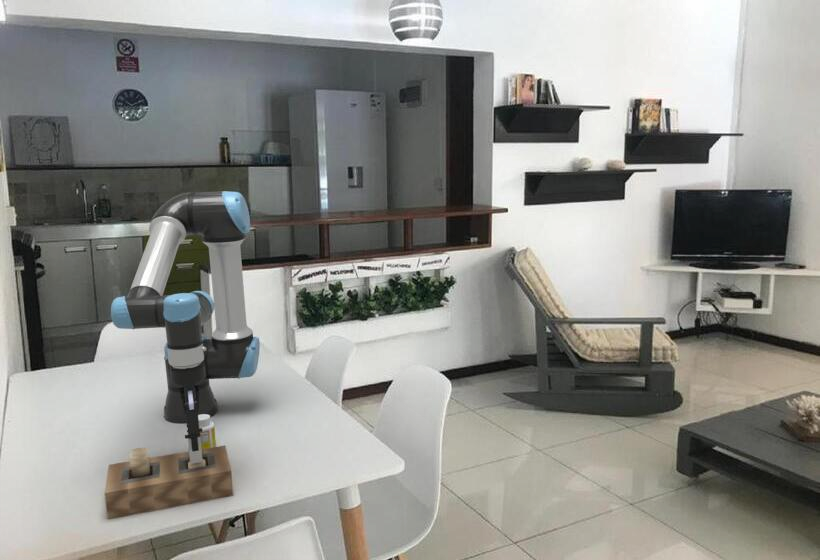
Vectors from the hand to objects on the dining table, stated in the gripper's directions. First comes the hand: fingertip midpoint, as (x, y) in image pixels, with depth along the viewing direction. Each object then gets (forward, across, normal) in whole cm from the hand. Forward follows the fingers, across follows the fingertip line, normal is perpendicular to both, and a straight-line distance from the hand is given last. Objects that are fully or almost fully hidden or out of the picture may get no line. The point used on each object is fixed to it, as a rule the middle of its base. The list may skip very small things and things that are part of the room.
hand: (196, 461), depth 157 cm
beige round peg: (+1, 0, +12) cm, 12 cm away
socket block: (+6, 0, +6) cm, 9 cm away
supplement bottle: (+7, +17, -3) cm, 18 cm away
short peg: (+6, 0, 0) cm, 6 cm away
